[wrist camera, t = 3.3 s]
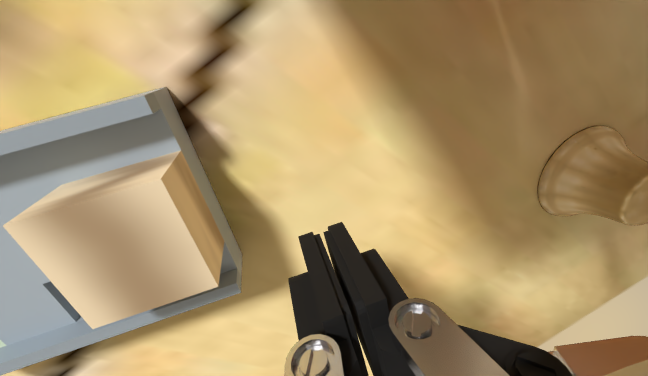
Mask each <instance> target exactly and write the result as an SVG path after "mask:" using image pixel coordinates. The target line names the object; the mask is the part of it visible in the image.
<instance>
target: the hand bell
mask: <svg viewBox="0 0 648 376" xmlns="http://www.w3.org/2000/svg"><path fill="white" fill-rule="evenodd" d="M538 198H539V202H540V204H541V206H542V208H543V209H545V210H546V211H547V212H548V213H550V214H553V215H557V216H572V215H576V214H580V213H588V214H594V215H599V216H603V217H606V218H610V219H612V220H615V221H618V222H621V223H624V224H627V225H633V226H635V225H642V224H645V223H648V162H646V161H644V160H642V159H640V158H639V157H637V156H636V155H634V154H633V153H631V152H630V151H629V150H628V148H627V145H626V143H625V141H624V139H623V137H622V136H621V135H620V134H619V133H618V132H617V131H616V130H614V129H612V128H610V127H607V126H595V127H590V128H587V129H585V130H583V131H581V132H579V133H577V134H575V135H573V136H572V137H570V138H569V139H568V140H566V141H565V142H564V143H563V144H562V145H561V146H560V147H559V148H558V149H557V150H556V151H555V153H554V154H553V155H552V156H551V158H550V159H549V161H548V162H547V164H546V166H545V168H544V170H543V172H542V175H541V177H540V180H539V185H538Z"/></svg>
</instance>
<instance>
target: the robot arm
mask: <svg viewBox="0 0 648 376" xmlns="http://www.w3.org/2000/svg"><path fill="white" fill-rule="evenodd" d="M328 230H329V231H326V232H324V236H325V239H326V243H327V246H328V250H329V253H330V257H331V260H332V264H333V266H332V264H331V261H330V259H329V257H328V254H327V252H326V249H325V247H324V244H323V242H322V239H321V237H320V234H317V235H313V232H310V233H307V234H304V235H301V236H298V237H299V241H300V244H301V248H302V252H303V255H304V259H305V263H306V266H307V270H308V272H306V273H303V274H300V275H297V276H294V277H291V278H289V279H288V280H289V287H290V293H291V298H292V304H293V310H294V316H295V322H296V327H297V333H298V339H299V341H298V342H297V343H296V344H295V345H294V346H293V347H292V348H291V350H290V352H289V354H288V356H287V358H286V363H285V374H284V376H368V372H367V368H366V365H365V361H364V358H363V354H362V350H361V347H360V343H359V340H360V342H361V345H362V347H363V350H364V352H365V355H366V358H367V360H368V363H369V365H370V368H371V370H372V373H373V375H374V376H648V337H646V336H629V337H621V338H614V339H606V340H599V341H591V342H584V343H577V344H569V345H562V346H555V347H554V351H550V352H546V351H544V350H542V349H539V348H537V347H534V346H530V345H527V344H523V343H520V342H516V341H513V340H509V339H506V338H502V337H499V336H495V335H492V334H488V333H485V332H481V331H478V330H474V329H471V328H467V327H463V326H460V325H457V324H456V323H455V322H454V321H453V320H451V319H450V318H449V317H448V316H447V315H446V314H445V313H444V312H443V311H442V310H441V309H440V308H439V307H438V306H436V305H435V304H434V303H432V302H430V301H427V300H425V299H418V298H413V299H408V297H407V296H406V294H405V293H404V291H403V290H402V288H401V287H400V285H399V284H398V282H397V281H396V279H395V278H394V276H393V275H392V273H391V272H390V270H389V269H388V267H387V266H386V264H385V263H384V261H383V260H382V258H381V257H380V255H379V254H378V253H377V251H376V250H375V249H372V250H369V251H366V252H363V253H360V252H359V250H358V249H357V247H356V245H355V243H354V242H353V240H352V238H351V236H350V235H349V233H348V231H347V230H346V228H345V226H344V224H343V223H342V222H340V223H337V224H334V225H331V226H328ZM333 267H334V269H333ZM357 335H358V336H357ZM358 337H359V340H358Z"/></svg>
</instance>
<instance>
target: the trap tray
mask: <svg viewBox="0 0 648 376" xmlns="http://www.w3.org/2000/svg"><path fill="white" fill-rule="evenodd" d="M180 150H181V151H182V153H183V155H184V157H185V160H186V162H187V164H188V166H189V168H190V170H191V172H192V174H193V176H194V178H195V181H196V183H197V185H198V187H199V189H200V191H201V193H202V195H203V197H204V199H205V202H206V204H207V206H208V208H209V210H210V212H211V214H212V216H213V218H214V220H215V223H216V225H217V227H218V229H219V231H220V233H221V235H222V237H223V239H224V248H223V255H222V263H221V270H220V278H219V285H218V287H216V288H213V289H210V290H207V291H204V292H201V293H198V294H195V295H192V296H189V297H186V298H183V299H180V300H177V301H175V302H172V303H169V304H166V305H163V306H160V307H157V308H154V309H151V310H148V311H145V312H142V313H139V314H136V315H133V316H130V317H127V318H124V319H122V320H119V321H116V322H113V323H110V324H107V325H104V326H101V327H98V328H95V329H92V328H91V327H90V326H89V325H88V324H87V322H86V321H85V320H84V319H83V318H82V317H81V316H80V314H79V313H78V312H77V311H76V310H75V309H74V307H73V306H72V305H71V304H70V303H69V302H68V301H67V299H66V298H65V297H64V296H63V295H62V294H61V293H60V291H59V290H58V289H57V288H56V287H55V286H54V284H53V283H52V282H51V281H50V280H49V279H48V278H47V276H46V275H45V274H44V273H43V272H42V271H41V270H40V268H39V267H38V266H37V265H36V264H35V263H34V261H33V260H32V259H31V258H30V257H29V256H28V255H27V253H26V252H25V251H24V250H23V249H22V248H21V246H20V245H19V244H18V243H17V242H16V241H15V240H14V238H13V237H12V236H11V235H10V234H9V233H8V232H7V230H6V229H5V228H4V227H3V225H4V224H6V223H7V222H9V221H10V220H11V219H13V218H14V217H16V216H17V215H19V214H20V213H22V212H23V211H24V210H26V209H27V208H29V207H30V206H32V205H33V204H34V203H36V202H37V201H39V200H40V199H42V198H43V197H44V196H46V195H47V194H49V193H50V192H52V191H53V190H55V189H56V188H57V187H59V186H60V185H62V184H66V183H69V182H73V181H76V180H80V179H83V178H87V177H90V176H94V175H97V174H100V173H104V172H107V171H111V170H114V169H118V168H121V167H125V166H128V165H132V164H135V163H139V162H142V161H145V160H149V159H152V158H156V157H159V156H163V155H166V154H170V153H173V152H177V151H180ZM241 280H242V253H241V250H240V248H239V246H238V244H237V242H236V239H235V237H234V235H233V233H232V231H231V228H230V226H229V224H228V222H227V220H226V217H225V215H224V213H223V211H222V208H221V206H220V204H219V202H218V200H217V197H216V195H215V193H214V191H213V189H212V186H211V184H210V182H209V180H208V178H207V175H206V173H205V171H204V169H203V167H202V164H201V162H200V160H199V158H198V156H197V153H196V151H195V149H194V147H193V145H192V142H191V140H190V138H189V136H188V134H187V131H186V129H185V127H184V125H183V123H182V120H181V118H180V116H179V114H178V112H177V109H176V107H175V105H174V103H173V100H172V98H171V96H170V94H169V92H168V89H167V87H164V88H160V89H156V90H152V91H149V92H145V93H141V94H137V95H134V96H130V97H126V98H122V99H119V100H115V101H111V102H107V103H104V104H100V105H96V106H92V107H89V108H85V109H81V110H77V111H73V112H70V113H66V114H62V115H58V116H55V117H51V118H47V119H43V120H40V121H36V122H32V123H28V124H25V125H21V126H17V127H13V128H10V129H6V130H2V131H0V375H3V374H6V373H9V372H12V371H15V370H18V369H21V368H23V367H26V366H29V365H32V364H35V363H38V362H41V361H44V360H47V359H50V358H52V357H55V356H58V355H61V354H64V353H67V352H70V351H73V350H76V349H79V348H81V347H84V346H87V345H90V344H93V343H96V342H99V341H102V340H105V339H108V338H111V337H113V336H116V335H119V334H122V333H125V332H128V331H131V330H134V329H137V328H140V327H142V326H145V325H148V324H151V323H154V322H157V321H160V320H163V319H166V318H169V317H172V316H174V315H177V314H180V313H183V312H186V311H189V310H192V309H195V308H198V307H201V306H203V305H206V304H209V303H212V302H215V301H218V300H221V299H224V298H227V297H230V296H233V295H235V294H238V293H241Z"/></svg>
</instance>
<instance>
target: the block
mask: <svg viewBox="0 0 648 376" xmlns="http://www.w3.org/2000/svg"><path fill="white" fill-rule="evenodd" d="M3 227H4V228H5V229H6V230H7V232H8V233H9V234H10V235H11V236H12V237H13V238H14V240H15V241H16V242H17V243H18V244H19V245H20V246H21V248H22V249H23V250H24V251H25V252H26V253H27V255H28V256H29V257H30V258H31V259H32V260H33V261H34V263H35V264H36V265H37V266H38V267H39V268H40V270H41V271H42V272H43V273H44V274H45V275H46V276H47V278H48V279H49V280H50V281H51V282H52V283H53V284H54V286H55V287H56V288H57V289H58V290H59V291H60V293H61V294H62V295H63V296H64V297H65V298H66V299H67V301H68V302H69V303H70V304H71V305H72V306H73V307H74V309H75V310H76V311H77V312H78V313H79V314H80V316H81V317H82V318H83V319H84V320H85V321H86V322H87V324H88V325H89V326H90V327H91V328H92V329H95V328H98V327H101V326H104V325H107V324H110V323H113V322H116V321H119V320H122V319H124V318H127V317H130V316H133V315H136V314H139V313H142V312H145V311H148V310H151V309H154V308H157V307H160V306H163V305H166V304H169V303H172V302H175V301H177V300H180V299H183V298H186V297H189V296H192V295H195V294H198V293H201V292H204V291H207V290H210V289H213V288H216V287H218V285H219V278H220V270H221V263H222V255H223V248H224V239H223V237H222V235H221V233H220V231H219V229H218V227H217V225H216V223H215V220H214V218H213V216H212V214H211V212H210V210H209V208H208V206H207V204H206V202H205V199H204V197H203V195H202V193H201V191H200V189H199V187H198V185H197V183H196V181H195V178H194V176H193V174H192V172H191V170H190V168H189V166H188V164H187V162H186V160H185V157H184V155H183V153H182V151H181V150H180V151H177V152H173V153H170V154H166V155H163V156H159V157H156V158H152V159H149V160H145V161H142V162H139V163H135V164H132V165H128V166H125V167H121V168H118V169H114V170H111V171H107V172H104V173H100V174H97V175H94V176H90V177H87V178H83V179H80V180H76V181H73V182H69V183H66V184H62V185H60V186H59V187H57V188H56V189H55V190H53V191H52V192H50V193H49V194H47V195H46V196H44V197H43V198H42V199H40V200H39V201H37V202H36V203H34V204H33V205H32V206H30V207H29V208H27V209H26V210H24V211H23V212H22V213H20V214H19V215H17V216H16V217H14V218H13V219H11V220H10V221H9V222H7V223H6V224H4V225H3Z"/></svg>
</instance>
